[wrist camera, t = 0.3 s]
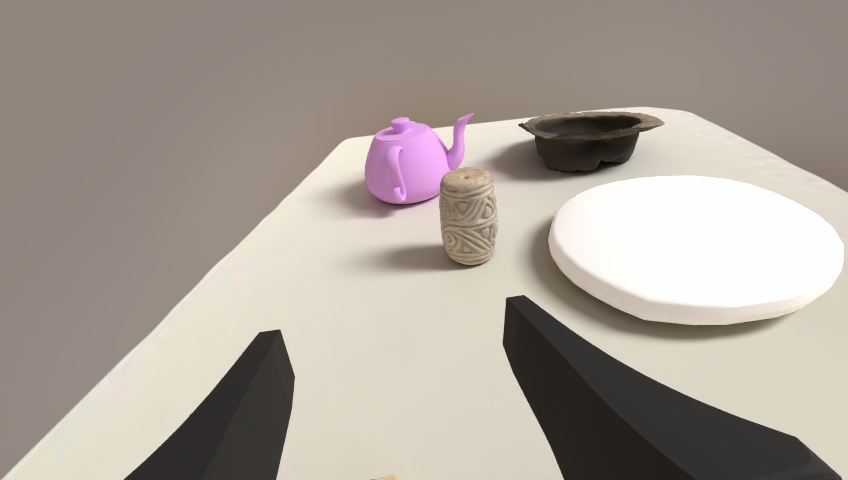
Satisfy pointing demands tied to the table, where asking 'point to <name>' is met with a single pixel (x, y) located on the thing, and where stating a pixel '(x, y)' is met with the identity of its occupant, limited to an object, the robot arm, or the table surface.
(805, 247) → the plate
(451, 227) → the carving
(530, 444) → the table surface
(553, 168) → the stone bowl
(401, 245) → the table surface
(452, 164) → the teapot
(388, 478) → the dish rack
